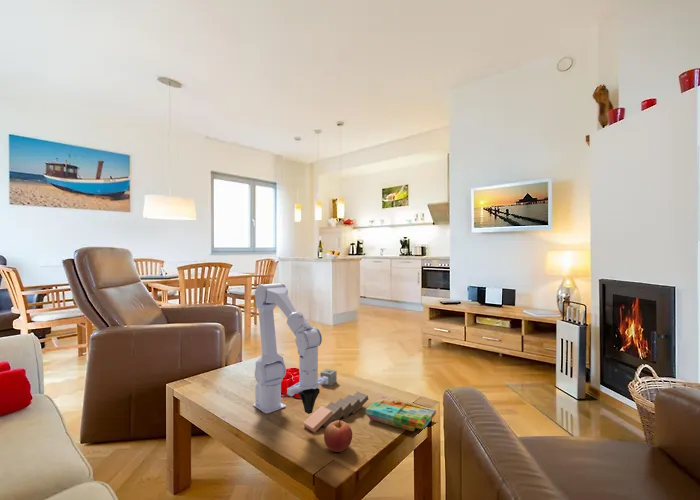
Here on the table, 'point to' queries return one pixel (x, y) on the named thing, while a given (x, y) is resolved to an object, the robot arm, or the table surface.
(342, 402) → the domino
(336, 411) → the domino
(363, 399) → the domino
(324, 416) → the domino
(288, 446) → the table surface
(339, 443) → the apple
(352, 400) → the domino
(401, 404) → the puzzle game
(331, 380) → the dice cube
